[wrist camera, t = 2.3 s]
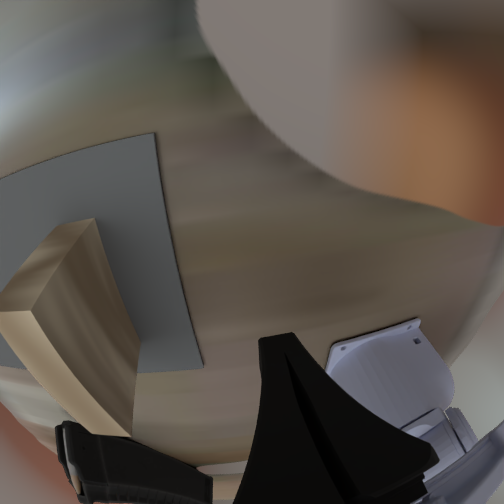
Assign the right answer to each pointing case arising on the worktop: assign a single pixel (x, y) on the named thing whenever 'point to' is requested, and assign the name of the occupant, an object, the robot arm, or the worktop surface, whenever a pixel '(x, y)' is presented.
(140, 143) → the mat
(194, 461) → the worktop surface
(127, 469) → the magazine
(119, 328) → the tile
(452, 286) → the worktop surface
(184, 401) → the worktop surface
